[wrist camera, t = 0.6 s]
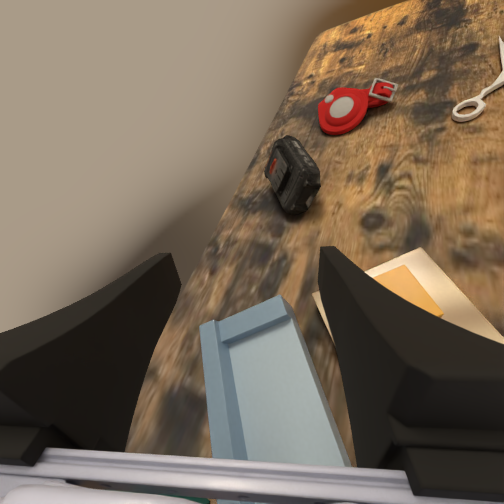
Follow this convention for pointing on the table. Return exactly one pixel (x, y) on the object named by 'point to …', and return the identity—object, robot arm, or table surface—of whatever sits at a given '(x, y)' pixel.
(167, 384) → the table surface
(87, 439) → the robot arm
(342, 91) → the tracker holder
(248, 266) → the table surface
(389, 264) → the low wooden bench
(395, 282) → the block
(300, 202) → the battery
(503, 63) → the scissors
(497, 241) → the table surface
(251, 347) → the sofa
